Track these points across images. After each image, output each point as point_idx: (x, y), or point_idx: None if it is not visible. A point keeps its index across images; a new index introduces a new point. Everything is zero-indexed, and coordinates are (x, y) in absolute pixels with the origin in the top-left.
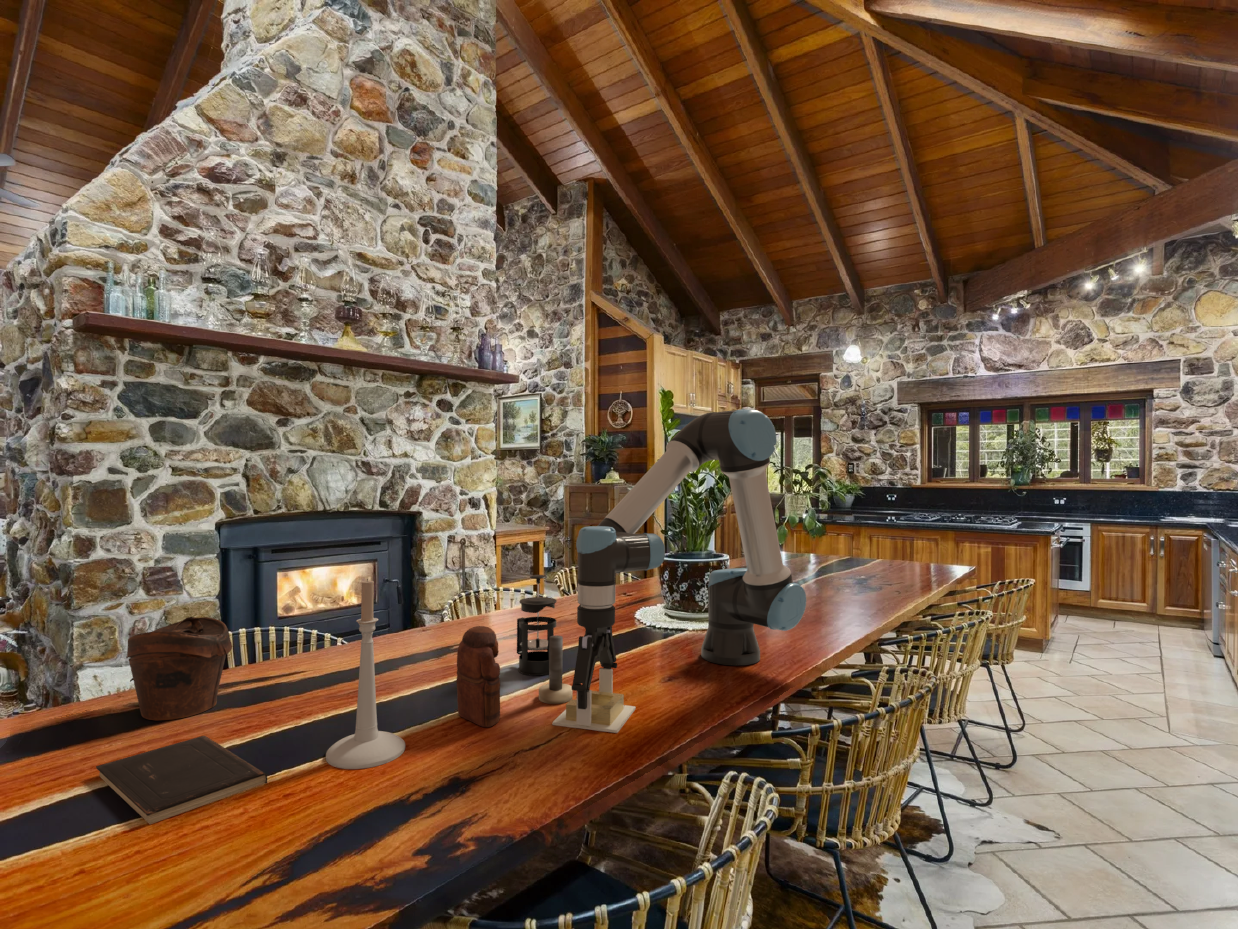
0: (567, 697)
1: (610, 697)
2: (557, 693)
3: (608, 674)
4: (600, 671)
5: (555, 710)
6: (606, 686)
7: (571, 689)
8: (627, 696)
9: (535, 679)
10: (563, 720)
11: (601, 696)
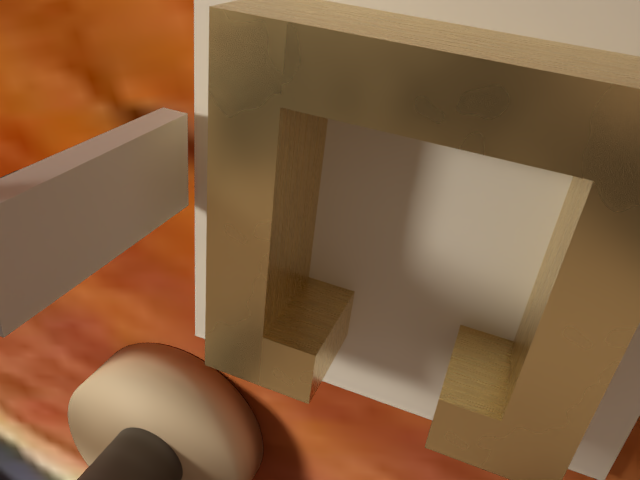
0: (200, 386)
1: (286, 136)
2: (218, 458)
3: (25, 226)
4: (20, 312)
5: (350, 431)
6: (114, 195)
7: (133, 384)
8: (3, 4)
9: (13, 473)
10: None
11: (278, 217)
